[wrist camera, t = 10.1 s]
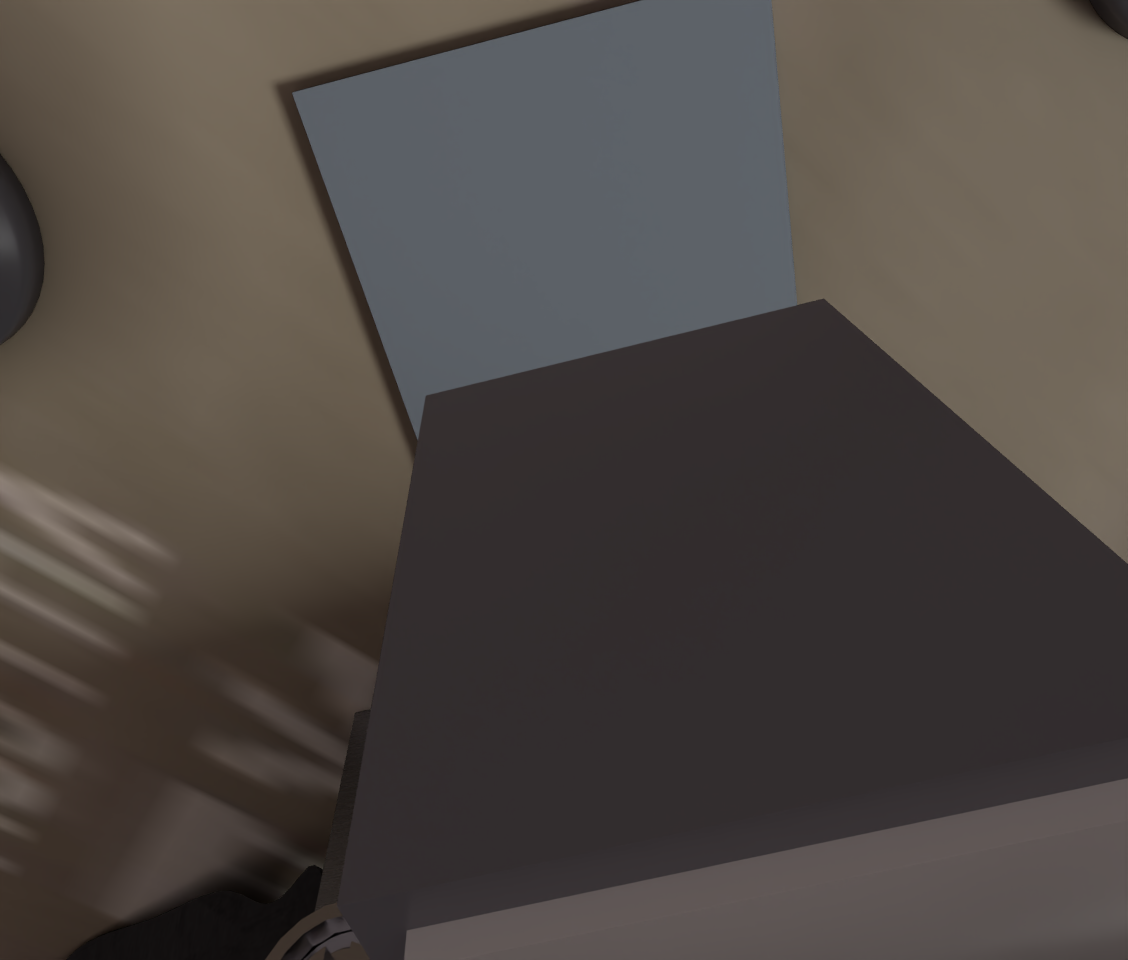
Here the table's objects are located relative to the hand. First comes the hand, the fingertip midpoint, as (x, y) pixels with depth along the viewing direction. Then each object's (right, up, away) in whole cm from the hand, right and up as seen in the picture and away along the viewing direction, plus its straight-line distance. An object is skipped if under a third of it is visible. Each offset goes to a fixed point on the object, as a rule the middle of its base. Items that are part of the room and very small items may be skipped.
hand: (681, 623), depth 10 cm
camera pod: (0, 0, +1) cm, 1 cm away
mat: (-1, +7, +12) cm, 13 cm away
